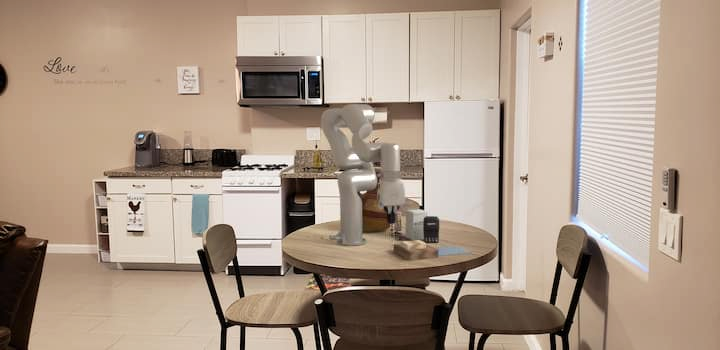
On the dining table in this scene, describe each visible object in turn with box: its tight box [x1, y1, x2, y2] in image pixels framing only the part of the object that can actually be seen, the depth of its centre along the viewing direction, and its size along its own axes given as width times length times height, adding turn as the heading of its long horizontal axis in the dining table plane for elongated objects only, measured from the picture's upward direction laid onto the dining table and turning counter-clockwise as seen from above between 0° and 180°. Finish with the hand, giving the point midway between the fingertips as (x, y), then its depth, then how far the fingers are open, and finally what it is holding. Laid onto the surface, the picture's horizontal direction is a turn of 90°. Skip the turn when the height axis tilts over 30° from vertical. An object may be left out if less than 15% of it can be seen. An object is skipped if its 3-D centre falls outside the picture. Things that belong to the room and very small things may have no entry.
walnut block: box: [393, 243, 439, 262], centre depth 217 cm, size 12×15×3 cm
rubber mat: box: [434, 245, 472, 257], centre depth 223 cm, size 16×12×1 cm
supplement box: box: [405, 208, 428, 241], centre depth 246 cm, size 7×7×13 cm
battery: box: [422, 215, 440, 244], centre depth 238 cm, size 7×4×11 cm, turn 87°
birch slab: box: [400, 239, 427, 250], centre depth 217 cm, size 8×6×2 cm
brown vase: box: [357, 168, 391, 233], centre depth 263 cm, size 20×20×30 cm
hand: (391, 223), depth 212 cm, fingers closed
